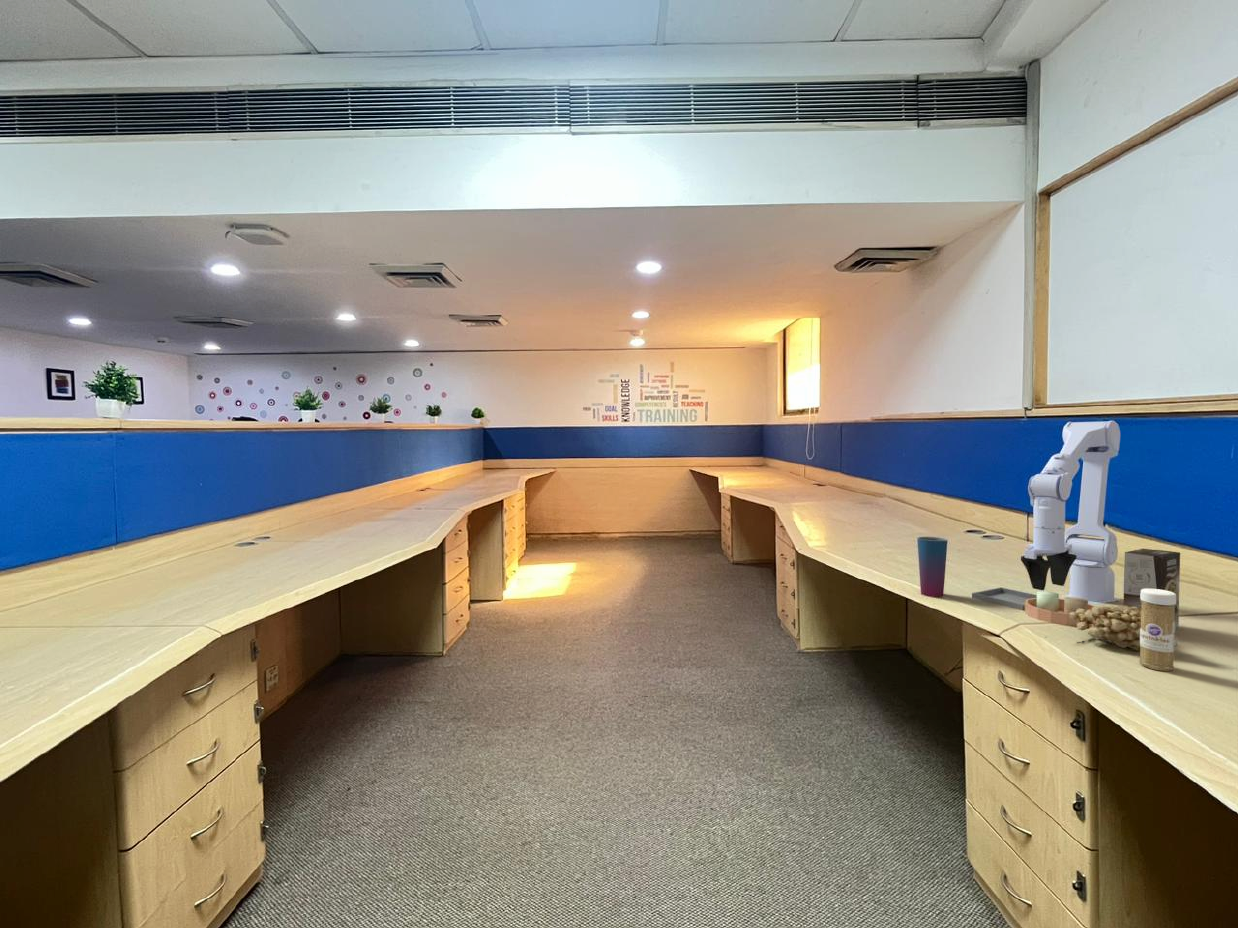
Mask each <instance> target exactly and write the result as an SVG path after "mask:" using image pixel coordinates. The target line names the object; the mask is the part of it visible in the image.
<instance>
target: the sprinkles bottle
mask: <svg viewBox="0 0 1238 928" xmlns="http://www.w3.org/2000/svg"><path fill="white" fill-rule="evenodd" d="M1140 599H1141V602H1142V609H1141V628H1140V650H1139V656H1140V657H1139V660H1138V662H1139V664H1140V665H1142V666H1144V667H1145V668H1148V669H1151V670H1156V671H1163V672H1170V671H1173V670H1175V667H1174V652H1175V647H1174V636H1175V633H1176V630H1175V621H1174V614H1175V604H1176V594H1175V593H1173V592H1170V591H1166V590H1160V589H1149V588H1146V589H1142V590H1141V594H1140ZM1174 632H1175V633H1174Z"/></svg>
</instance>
